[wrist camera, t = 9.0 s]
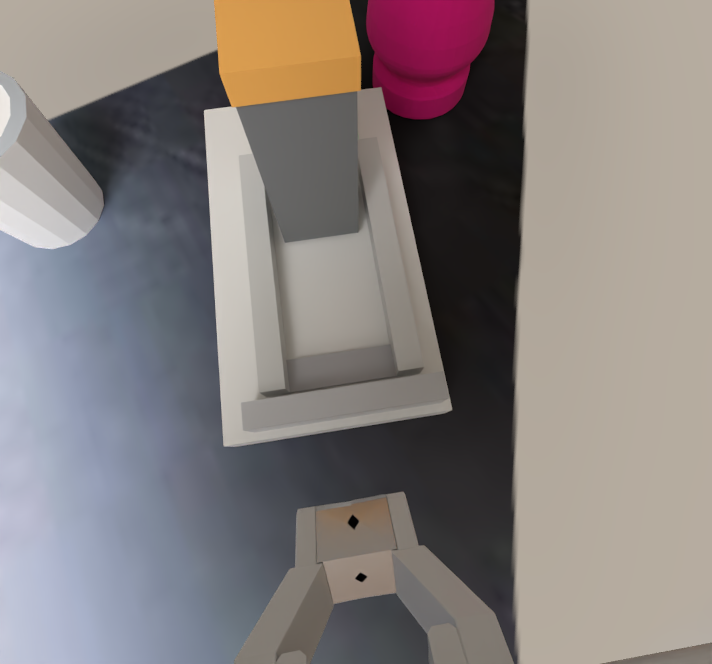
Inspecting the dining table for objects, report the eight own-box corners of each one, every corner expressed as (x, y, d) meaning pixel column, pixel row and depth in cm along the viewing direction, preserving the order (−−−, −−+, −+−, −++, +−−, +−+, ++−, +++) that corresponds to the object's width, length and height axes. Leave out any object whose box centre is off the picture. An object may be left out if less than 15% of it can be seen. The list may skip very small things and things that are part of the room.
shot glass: (-9, 187, 26) (-140, 93, 19) (96, 147, 26) (6, 43, 20) (16, 276, 24) (-119, 208, 17) (128, 230, 25) (41, 146, 18)
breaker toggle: (283, 244, 22) (219, 73, 12) (275, 179, 23) (212, -26, 13) (360, 233, 22) (361, 55, 12) (349, 169, 23) (340, -42, 13)
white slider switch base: (236, 446, 21) (208, 445, 17) (215, 134, 26) (190, 81, 23) (444, 413, 21) (462, 405, 17) (379, 112, 27) (383, 56, 23)
